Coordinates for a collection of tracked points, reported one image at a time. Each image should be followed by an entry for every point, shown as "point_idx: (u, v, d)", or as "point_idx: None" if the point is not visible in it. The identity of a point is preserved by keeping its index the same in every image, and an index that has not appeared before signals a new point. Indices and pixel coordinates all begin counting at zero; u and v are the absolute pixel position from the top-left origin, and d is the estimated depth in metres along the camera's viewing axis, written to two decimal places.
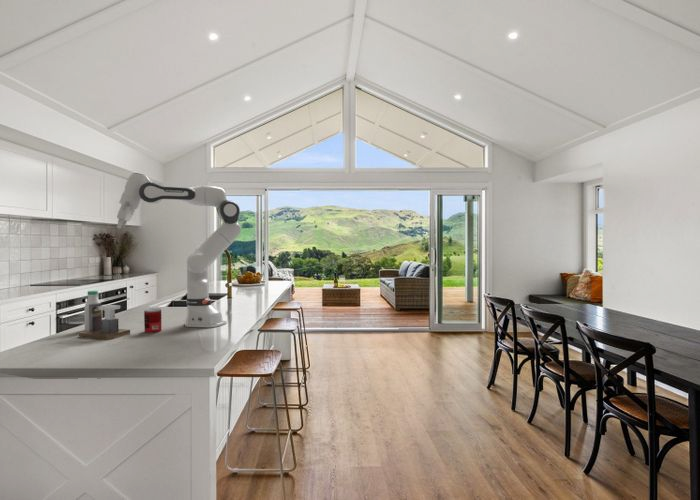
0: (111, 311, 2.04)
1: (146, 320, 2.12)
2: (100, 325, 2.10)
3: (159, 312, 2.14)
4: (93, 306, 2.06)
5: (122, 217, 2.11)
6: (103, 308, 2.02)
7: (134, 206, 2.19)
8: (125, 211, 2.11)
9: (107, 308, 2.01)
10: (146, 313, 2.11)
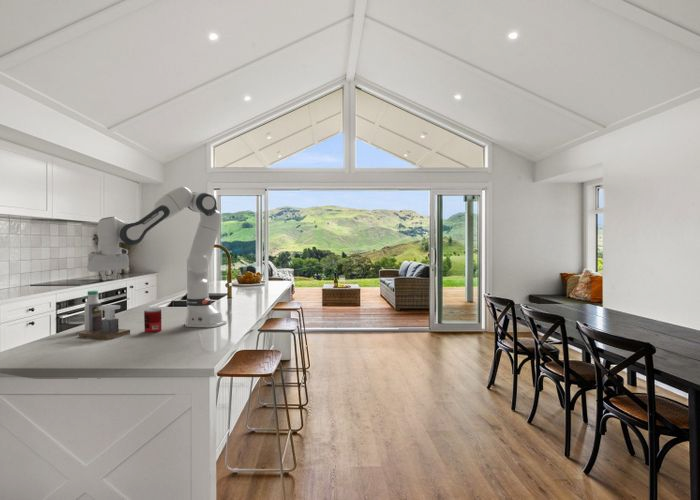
0: (111, 311, 2.04)
1: (146, 320, 2.12)
2: (100, 325, 2.10)
3: (159, 312, 2.14)
4: (93, 306, 2.06)
5: (91, 269, 1.95)
6: (103, 308, 2.02)
7: (108, 253, 2.00)
8: (91, 262, 1.95)
9: (107, 308, 2.01)
10: (146, 313, 2.11)
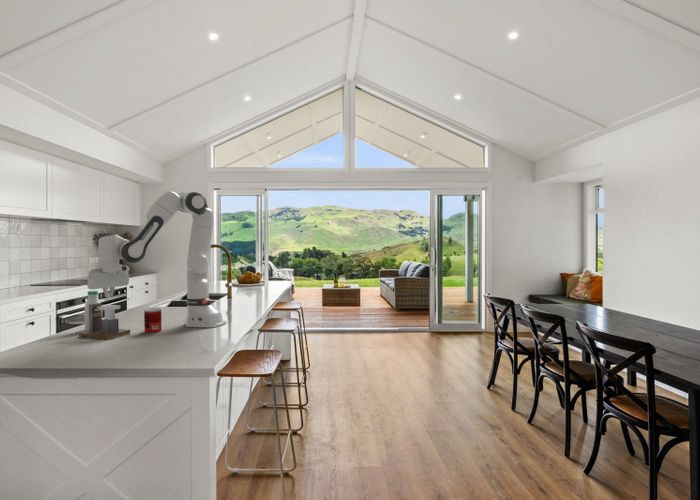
0: (111, 311, 2.04)
1: (146, 320, 2.12)
2: (100, 325, 2.10)
3: (159, 312, 2.14)
4: (93, 306, 2.06)
5: (91, 287, 1.95)
6: (103, 308, 2.02)
7: (108, 270, 2.00)
8: (92, 280, 1.95)
9: (107, 308, 2.01)
10: (146, 313, 2.11)
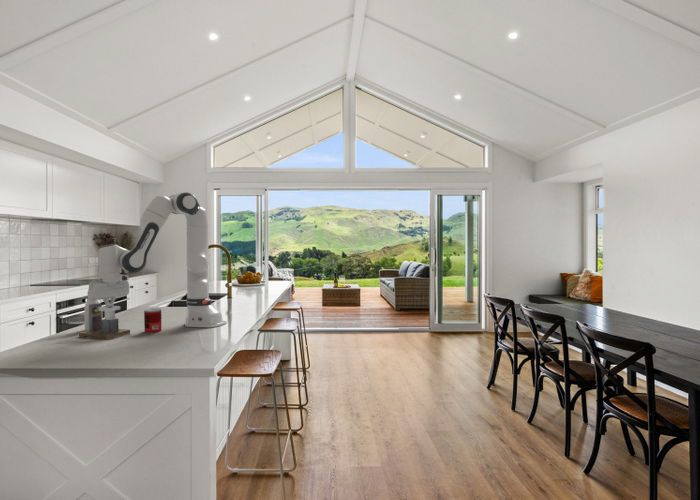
0: (111, 312, 2.04)
1: (146, 320, 2.12)
2: (100, 325, 2.10)
3: (159, 312, 2.14)
4: (93, 306, 2.06)
5: (91, 297, 1.95)
6: (103, 309, 2.02)
7: (108, 281, 2.00)
8: (92, 290, 1.95)
9: (107, 309, 2.01)
10: (146, 313, 2.11)
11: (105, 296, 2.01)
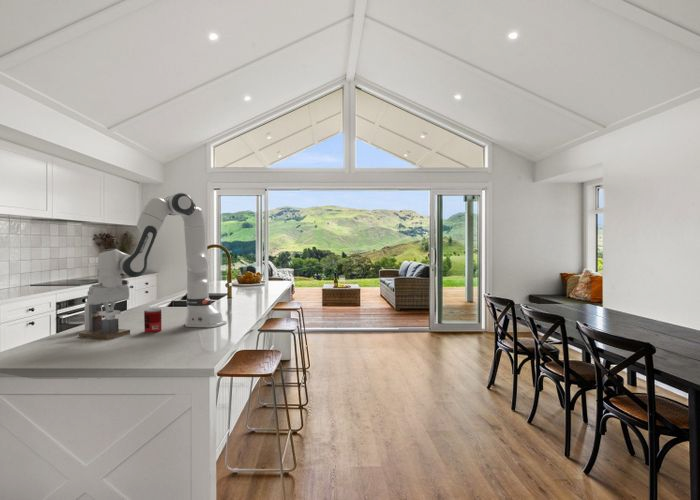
0: (111, 316, 2.04)
1: (146, 320, 2.12)
2: (100, 325, 2.10)
3: (159, 312, 2.14)
4: (93, 306, 2.06)
5: (91, 302, 1.95)
6: (103, 313, 2.02)
7: (108, 285, 2.00)
8: (92, 295, 1.95)
9: (107, 313, 2.01)
10: (146, 313, 2.11)
11: (105, 301, 2.01)
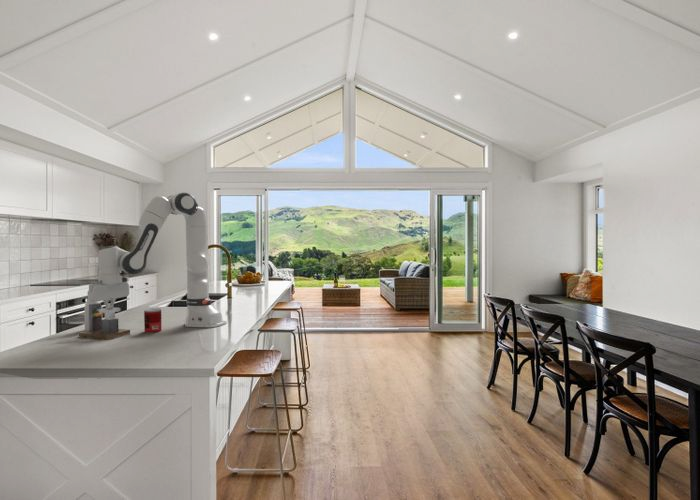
0: (111, 313, 2.04)
1: (146, 320, 2.12)
2: (100, 325, 2.10)
3: (159, 312, 2.14)
4: (93, 306, 2.06)
5: (91, 299, 1.95)
6: (103, 310, 2.02)
7: (108, 282, 2.00)
8: (92, 292, 1.95)
9: (107, 310, 2.01)
10: (146, 313, 2.11)
11: (105, 298, 2.01)
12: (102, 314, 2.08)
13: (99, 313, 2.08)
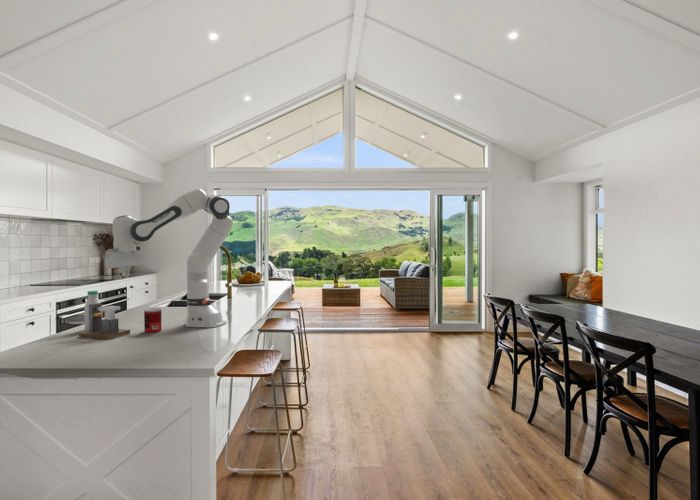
0: (111, 312, 2.04)
1: (146, 320, 2.12)
2: (100, 325, 2.10)
3: (159, 312, 2.14)
4: (93, 306, 2.06)
5: (108, 266, 2.04)
6: (103, 309, 2.02)
7: (123, 250, 2.10)
8: (109, 259, 2.04)
9: (107, 309, 2.01)
10: (146, 313, 2.11)
11: (121, 265, 2.10)
12: (102, 314, 2.08)
13: (99, 313, 2.08)
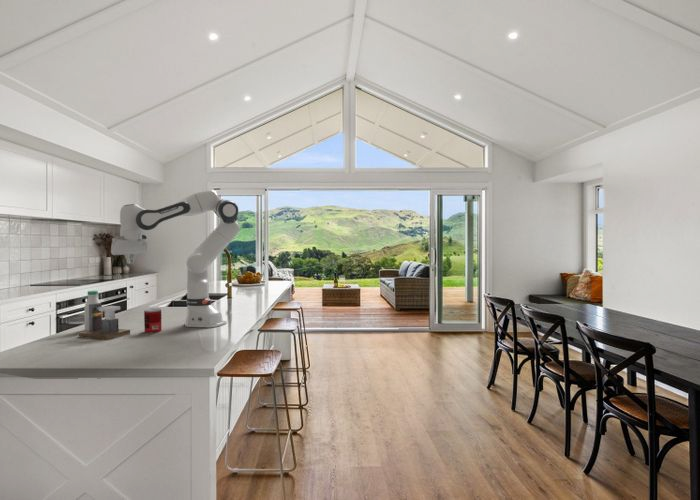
0: (111, 312, 2.04)
1: (146, 320, 2.12)
2: (100, 325, 2.10)
3: (159, 312, 2.14)
4: (93, 306, 2.06)
5: (114, 252, 2.08)
6: (103, 309, 2.02)
7: (130, 238, 2.13)
8: (115, 246, 2.08)
9: (107, 309, 2.01)
10: (146, 313, 2.11)
11: (127, 252, 2.14)
12: (102, 314, 2.08)
13: (99, 313, 2.08)
